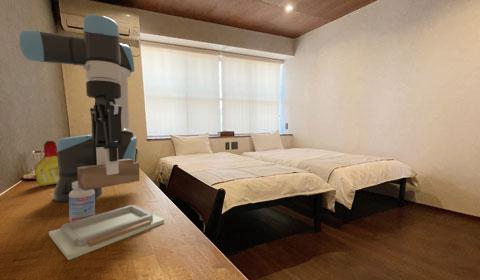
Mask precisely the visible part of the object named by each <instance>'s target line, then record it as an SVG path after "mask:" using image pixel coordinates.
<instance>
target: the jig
mask: <svg viewBox="0 0 480 280" xmlns="http://www.w3.org/2000/svg"><path fill="white" fill-rule="evenodd" d="M162 224H165V218H163V217H161V216H158V215H157V214H154V213H152V212H150V211H148V210H146V209H145V208H142V207H140V206H138V205H133V204H130V205H126V206H124V207H123V206H122V207H119V208H116V209H113V210H109V211H105V212H102V213H99V214H95V215H94V216H91V217H87V218H84V219H80V220H77V221H73V222H70V221H69V222H66V223H64V224H63V223H62V225H61V226H60V228H57V229H54V230H50V231H48V236H49V237H50V239H51V240H52V241H53V242H54V244H55V246H56V247H58V249H59V251H61V253H62V254H63V256H65V258H66V259H67V260H68V261H70V260H73V259H75V258H78V257H81V256H83V255H85V254H88V253H90V252H93V251H96V250H98V249H100V248H103V247H106V246H108V245H111V244H113V243H115V242H116V243H117V242H119V241H122V240H123V239H126V238H129V237H131V236H134V235H136V234H137V235H138V234H139V233H142V232H143V231H146V230H149V229H152V228H155V227H156V226H160V225H162Z"/></svg>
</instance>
